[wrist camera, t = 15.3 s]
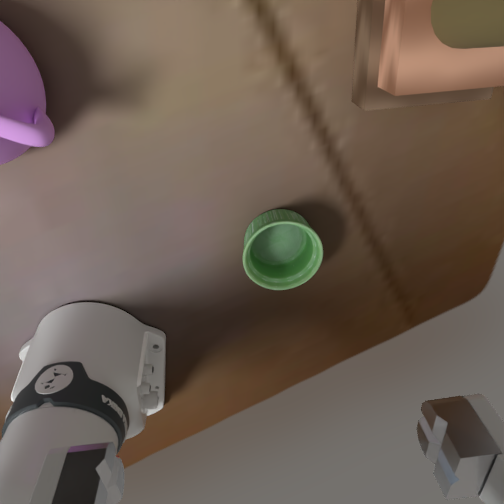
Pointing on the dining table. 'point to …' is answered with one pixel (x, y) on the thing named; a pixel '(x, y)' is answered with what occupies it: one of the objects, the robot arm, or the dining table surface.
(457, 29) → the cork
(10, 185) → the dining table surface
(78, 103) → the dining table surface
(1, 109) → the teapot
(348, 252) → the dining table surface
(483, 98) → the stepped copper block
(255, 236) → the ramekin
